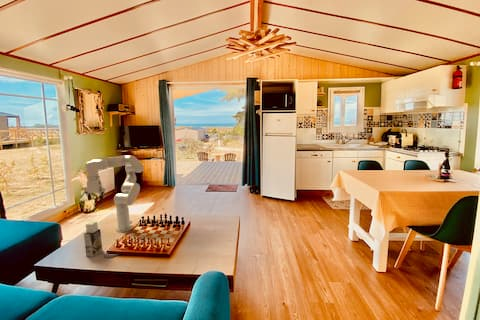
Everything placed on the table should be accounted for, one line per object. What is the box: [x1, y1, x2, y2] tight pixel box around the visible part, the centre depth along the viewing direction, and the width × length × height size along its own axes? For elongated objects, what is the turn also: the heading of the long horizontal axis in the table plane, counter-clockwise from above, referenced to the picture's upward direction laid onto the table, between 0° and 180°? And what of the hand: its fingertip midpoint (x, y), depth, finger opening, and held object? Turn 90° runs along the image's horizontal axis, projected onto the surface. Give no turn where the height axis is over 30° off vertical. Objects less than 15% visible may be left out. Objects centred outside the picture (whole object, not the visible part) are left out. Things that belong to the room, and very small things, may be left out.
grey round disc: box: [103, 252, 119, 259], centre depth 189 cm, size 9×9×1 cm
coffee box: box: [83, 228, 103, 257], centre depth 191 cm, size 9×6×16 cm
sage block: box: [85, 221, 99, 233], centre depth 190 cm, size 5×5×6 cm
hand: (95, 200), depth 207 cm, fingers open, 9 cm apart
